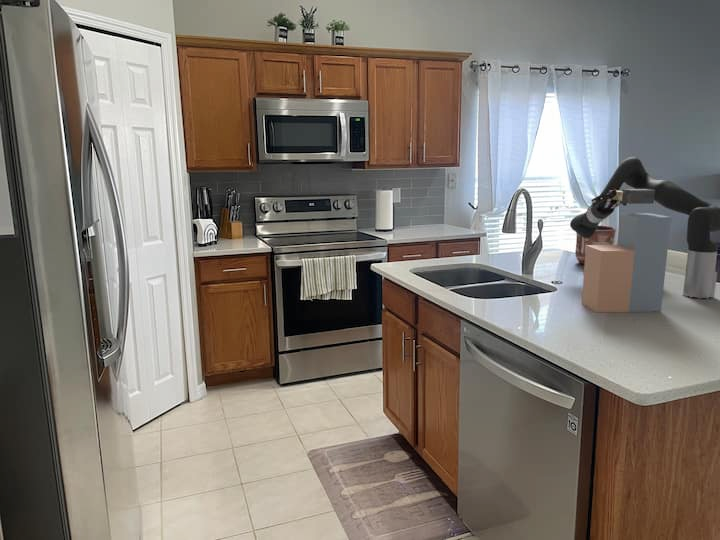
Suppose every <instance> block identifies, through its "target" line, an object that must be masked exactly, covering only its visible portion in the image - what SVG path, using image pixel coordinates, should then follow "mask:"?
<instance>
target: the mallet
mask: <svg viewBox="0 0 720 540" xmlns="http://www.w3.org/2000/svg"><path fill="white" fill-rule="evenodd" d="M622 190H623V191H622ZM622 190H619V191H618V190H616V191H617V195H616V196H615V197H613V198H612V199H614V200H620V201H622V202H624V203H627V204H630V205H632V204H640V205H643V204H646V205H647V204H649V205H651V204H654V202H655V200H654V195H655V190H650V189H635V188H622ZM611 191H613V190H609V193H610V192H611Z"/></svg>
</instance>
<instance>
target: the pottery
mask: <svg viewBox="0 0 720 540" xmlns="http://www.w3.org/2000/svg"><path fill="white" fill-rule="evenodd" d="M616 230H617V228H615V227H612V226H607V225H598V227H597V229H596V231H595V233H594V235H593V236H592V237H590V238H587V239H585V238H583V237H582V236H580V235H579V234H578V233H577V232H575V233H576V238H575V239H576V240H575V241H576V243H575V257H576V260H577V262H578V263H579V264H580V265H582V266H585V253H586V245H615V244H614V242H615V236H616Z"/></svg>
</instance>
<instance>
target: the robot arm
mask: <svg viewBox="0 0 720 540" xmlns="http://www.w3.org/2000/svg"><path fill="white" fill-rule="evenodd" d="M624 183H625V184H626V185H627V186H629V187H630V188H632V189H650V190H655V195H654V202H655V203H658V204H659V205H660V206H662V207H664V208H665V209H668V210H671V211H673V212H676V213H681V214H684V215H687V216H688V219H687V229H686V242H687V245H688V247H687V254H686V265H685V273H684V280H683V281H684V282H683V289H682V295H683V296H684V297H688V296H689V298H692V297H697V298H696V299H702V298H706V299H710V298H709V297H711V298H715V295H716V294H715V293H716V286H717V277H718V272H717V271H716V265H717V256H718V250H719V245H718V243H716V242H714V241H712V239H711V233H715V232H719V231H720V207H719V206H716V205H714V204H711V203H710V202H707V201H705V200H702V199H701V198H699V197H698V196H695V195H694V194H693V193H690V192H689V191H688V190H686V189H684V188H683V187H681V186H679V185H677V184H675V183H674V182H673V181H670V180H667V179H656V178H654V177H653V176H651V175H650V174H649V173H648V172H647V171H646V169H645V167H644V165H643V163H642V160H640V158H638V157H636V156H635V157H634V156H631V157H628V158H625V159H624V160H623V161H622V162H620V164H619V165H618V166H617V168H616V169H615V171H614V172H613V175H612V176H611V177H610V178H609V181H608V183H607V184H606V186H605V187H604V188H603V190H602V191H601V193H600V194H599V195H598V196H595V197H594V198H592V199H591V205H589V207H588V208H587V209H586V210H587V211H585V212H583V213H580V214H578V215H576V216H575V217H573V218H571V221H570V225H569V226H570V228H571V230H573V231H574V232H575V233H576V232H577V233H578V234H579V235H580V236H582V237H583V238H585V239H587V238H590V237H592V236H593V235H594V233H595V231H596V229H597V227H598V226H599V224H601V222H603V221H604V220H606V219H607V218H608V217H609V216H610V215H612V214H613V213H614V211H615V209H616V208H618V207H619V205H622V206H623V207H625V206H627V204H628V203H624V202H622V201H620V200H614V199H612V198H613V197H615V196H616V195H617V191H616V190H618V191H623V189H622V190H621V187H622V186H623V184H624ZM609 190H613V191H611V192H610V193H609ZM577 233H576V234H577Z"/></svg>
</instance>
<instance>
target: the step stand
mask: <svg viewBox="0 0 720 540" xmlns="http://www.w3.org/2000/svg"><path fill="white" fill-rule="evenodd" d="M671 220H672V217H671V216H669V215H667V216H666V215H662V214H661V215H660V214H656V213H649V212H648V213H643V212H642V213H641V212H640V213H619V220H618V221H619V222H618V229H617V230H618V231H617V232H618V233H617V242H616V243H617V244H613V245H586V253H585V265H583V267H584V268H583V269H584V270H583V278H582V279H583V281H582V293H581V295H582V296H581V304H582V305H584V306H585V307H587V308H589V309H590V310H592V311H594V312H595V313H646V312H647V313H648V312H650V311H661V312H662V306H663V305H662V304H663V297H664V296H663V294H664V289H665V279H666V277H665V276H666V268H667V259H668V248H669V240H670V231H671V230H670V229H671V225H672V224H671V223H672V221H671ZM650 313H651V312H650Z"/></svg>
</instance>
